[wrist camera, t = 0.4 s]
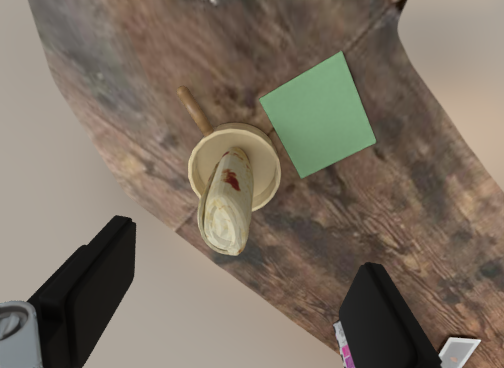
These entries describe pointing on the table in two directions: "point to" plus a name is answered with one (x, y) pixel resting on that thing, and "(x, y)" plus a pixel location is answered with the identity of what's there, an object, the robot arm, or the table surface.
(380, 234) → the table surface
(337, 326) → the candy bar box
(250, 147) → the pan
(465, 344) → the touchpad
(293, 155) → the napkin
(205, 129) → the brown rod
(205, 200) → the food model
